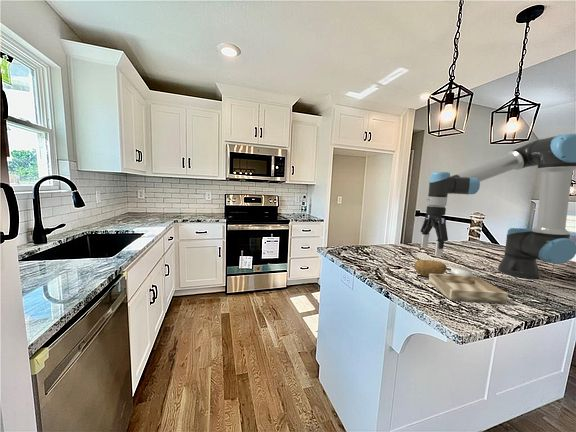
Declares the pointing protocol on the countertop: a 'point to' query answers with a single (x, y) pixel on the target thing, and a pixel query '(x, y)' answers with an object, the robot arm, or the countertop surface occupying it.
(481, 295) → the tray
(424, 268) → the potato
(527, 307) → the countertop surface
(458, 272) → the white rounded piece
